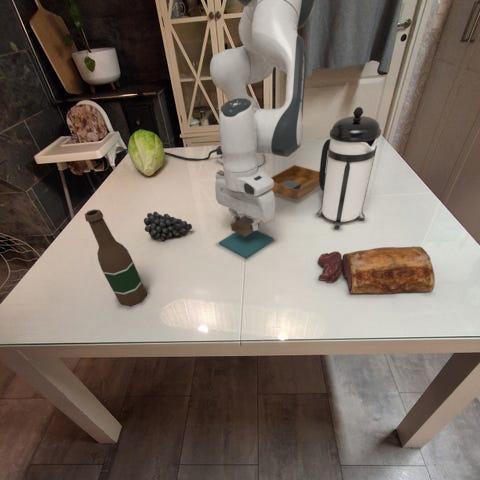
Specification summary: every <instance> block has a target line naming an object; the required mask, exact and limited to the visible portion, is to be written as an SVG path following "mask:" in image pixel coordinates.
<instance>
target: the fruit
mask: <svg viewBox="0 0 480 480" xmlns="http://www.w3.org/2000/svg"><path fill="white" fill-rule="evenodd" d="M143 223H144V225H145V227H144V231H145V232H147V233H148V235H149V236H150V238H151V239H152V240H154V239H155V240H156V239H157V238H158V239H159V241H160V242H164V241H165V240H166V239H170V238H171V237H173V236H174V237H179V236H180V237H182V236H184V234H185V235H186V234H188V232H189V231H190V230H192V229H193V225H192V224H191V223H188V221H187V220H182V219H181V218H176V217H174V216H171V215H170V214H168V213H164V214H159V213H158V212H157V211H153V213H152V212H148V213H147V214H146V217H145V218H144V219H143Z"/></svg>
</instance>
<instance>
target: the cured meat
mask: <svg viewBox="0 0 480 480" xmlns="http://www.w3.org/2000/svg"><path fill="white" fill-rule="evenodd" d="M430 256H431V255H429V254H428V252H427V251H426V250H425V249H424V247H422V246H403V247H400V246H399V247H397V246H396V247H395V246H388V247H375V248H370V249H364V250H355V251H351V252H348V253H344V254H342V253H340V252H339V251H332V252H330V253H328V252H326V253H322V254H320V255H319V257H318V259H317V263H318V265H319V266H320V267H321V268H322V272H321V274H319V276H318V279H319V281H325V282H326V283H329V284H330V283H334V282H336V281H337V280H338V279H339V278H340V276H341V274H342V277H343V278H344V279H346V281H347V284H348V290H349V291H348V292H349V293H350V294H372V295H373V294H374V295H375V294H377V295H378V294H379V295H381V294H396V293H409V292H410V293H413V292H418V293H420V292H421V293H422V292H433V291H434V289H435V287H436V286H435V285H436V277H435V270H434V267H433V263H432V260H431V259H432V258H431V257H430Z"/></svg>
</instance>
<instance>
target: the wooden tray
mask: <svg viewBox="0 0 480 480" xmlns="http://www.w3.org/2000/svg"><path fill="white" fill-rule="evenodd" d="M319 172H320V170H319V171H318V170H315V169H311V168H308V167H304V166H300V165H296V164H294V165H292V166H290V167H288V168H286V169H284V170H282V171H280V172H279V173H276V174H274V175H272V176H271V177H270V178H272V179H273V181H274V187H273V188H271V190H272V191H273V193H274V194H277V195H280V196H282V197H285V198H289V199H291V200H294V201H299V200H301V199H302V198H304V197H306V196H307V195H309V194H311V193H313V192H314V191H316V190H317V189H319V188H321V187H320V184H319ZM287 180H290V181H294V182H297V183H300V184H301V188H300V189H298V190H297V189H293V188H290V187H287V186H284V185H281V184H282V183H284V182H285V181H287Z"/></svg>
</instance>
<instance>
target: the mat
mask: <svg viewBox="0 0 480 480" xmlns="http://www.w3.org/2000/svg"><path fill="white" fill-rule="evenodd" d="M274 241H275V238H274V237H272V236H270V235H267V234H265V233H263V232H261V231H259V230H258V229H257V230H256V231H254V232H252V233H251V234H249V235H248V236H246V237H245V236H243V235H241V234H239V233H237V232H233V233H232V234H230V235H228V236H227V237H225V238H223V239H222V240H219V242H218V244H219V246H221V247H223V248H225V249H226V250H229V251H231V252H233V253H235V254H236V255H239V256H240V257H243V258H244V259H249V258H250V257H252V256H253V255H255V254H256V253H257V252H259V251H261V250H262V249H264V248H266V246H268V245H269V244H271V243H272V242H274Z"/></svg>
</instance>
